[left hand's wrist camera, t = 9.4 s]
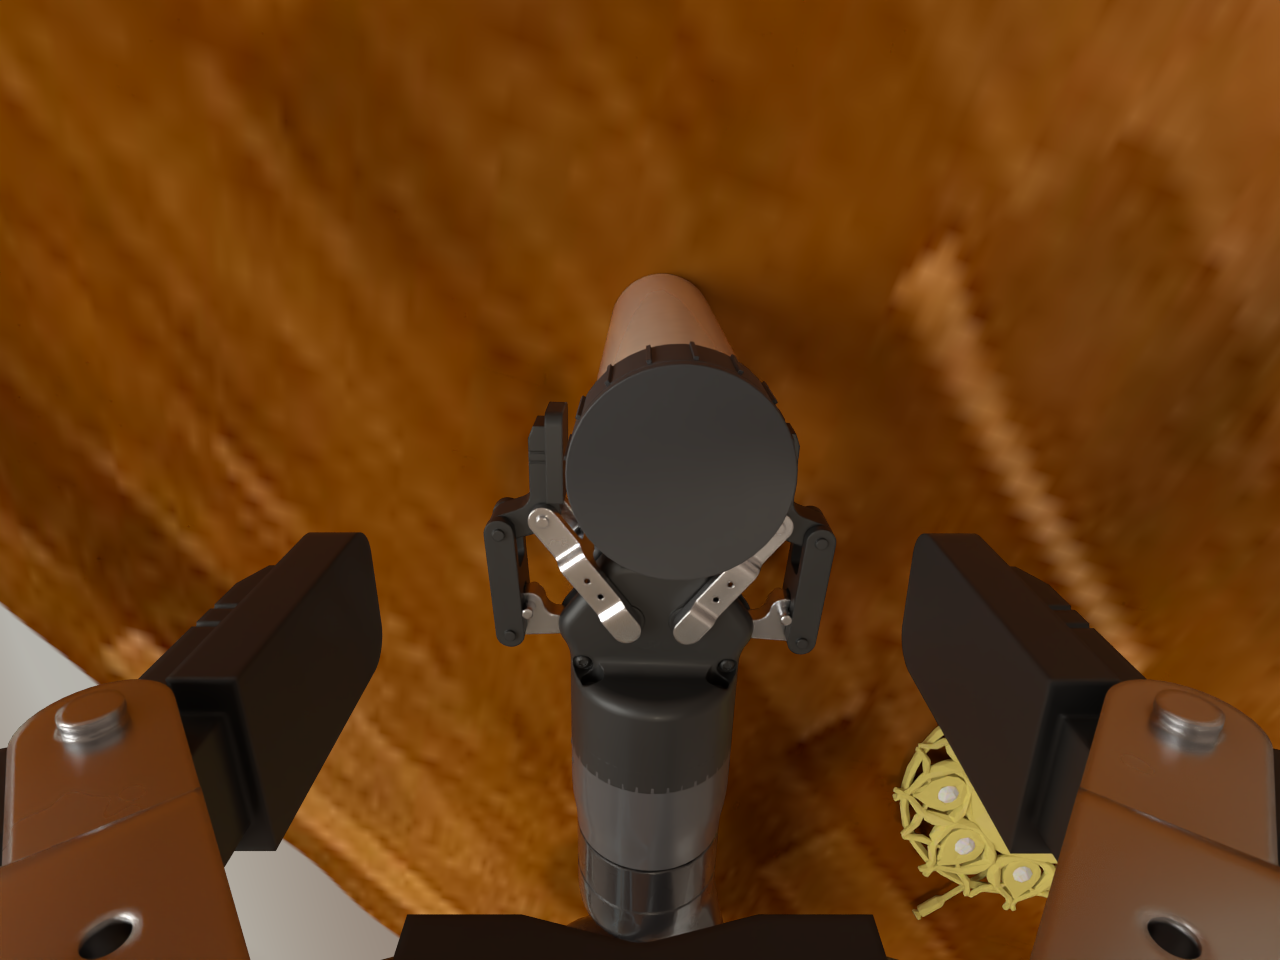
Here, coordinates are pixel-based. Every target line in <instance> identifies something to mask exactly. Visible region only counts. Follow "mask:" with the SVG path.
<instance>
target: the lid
mask: <svg viewBox="0 0 1280 960" xmlns="http://www.w3.org/2000/svg"><path fill="white" fill-rule="evenodd" d="M776 403H778V402H777V400H776V399H775V397H774V395H773V394H772V392H771V390H770V389H769V387H768V385H767V384H766V383H765V381H764V382H762V383H761V382H760V381H759V379H758V378H757V377H756V376H755V375H754V374H753V373H752V372H751V371H750V370H749V369H748V368H746V367H745V366H744V365H742V364H741V363H740V362H738V360H737V358H736V356H735V355H733V354H731V356H728V355H726V354H724V353H722V352H719V351H717V350H714V349H711V348H707V347H703V346H699V345H695V342H692V341H690V344H667V345H660V346H654V347H651V345H647V346H646V349H644V350H641V351H639V352H636V353H634V354H632V355H629V356H628V357H626V358H624V359H623V360H621V361H619V362H618V363H616V364H615V365H614V366H612V365H611V364H610V365H608V366H607V371H606V372H605V373H604V374H603V375H602V376H601V377H600V378H599V379H598V380H597V381H596V383H595V384H594V385H593V387H592V388H591V389H590V391H589V392H588V394H587V396H586V397H585V396H582V398H581V400H580V404H579V407H578V411H577V414H576V423H575V426H574V430H573V433H572V434H570V437H569V440H568V444H567V447H566V451H565V454H564V461H566V466H565V482H566V490H567V495H568V500H569V503H570V506H571V509H572V512H573V514H574V516H575V518H576V520H577V522H578V524H579V526H580V528H581V529H582V530H583V532H584V533H585V535H586V536H587V538H588V539H589V540H590V541H591V542H592V543H593V544H594V545H595V546H596V548H598V549H599V550H600V551H601V552H602V553H603V554H605V555H606V556H607V557H608V558H610V559H611V560H613V561H614V562H616V563H617V564H619V565H621V566H623V567H625V568H627V569H629V570H631V571H633V572H636V573H639V574H642V575H645V576H649V577H653V578H658V579H666V580H693V579H701V578H705V577H710V576H714V575H717V574H720V573H722V572H725V571H728V570H730V569H732V568H734V567H736V566H738V565H740V564H742V563H743V562H745V561H746V560H748V559H749V558H751V557H752V556H754V555H755V554H756V553H757V552H758V551H760V550H761V549H762V548H763V547H764V546H765V545H766V544H767V543H768V542H769V541H770V540H771V539H772V537H773V536H774V535H775V534H776V532H777V531H778V529H779V528H780V527H781V525H782V524H783V522H784V520H785V518H786V516H787V514H788V512H789V510H790V507H791V504H792V501H793V498H794V494H795V490H796V485H797V472H798V467H797V455H796V450H795V446H794V443H795V439H794V437H793V435H792V434H791V432H790V430H789V428H788V426H787V424H786V422H785V421H784V419H783V417H782V415H781V413H780V412H779V410H778V408H777V407H776V405H775V404H776Z"/></svg>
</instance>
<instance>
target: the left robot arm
mask: <svg viewBox="0 0 1280 960" xmlns="http://www.w3.org/2000/svg"><path fill="white" fill-rule="evenodd" d="M381 647H382V625H381V617H380V611H379V604H378V597H377V590H376V583H375V576H374V569H373V562H372V555H371V549H370V545H369V542H368V539H367V538H366V536H365V535H364V534H363V533H307V534H306V535H305V536H303V537H302V539H301V540H300V541H299V542H298V543H297V544H296V545H295V546H294V547H293V548H292V549H291V550H290V551H289V552H288V553H287V554H286V555H285V556H284V557H283V558H282V559H281V560H280V561H279V562H278V563H277V564H276V565H269V566H267V567H266V568H264V569H262V570H260V571H258V572H256V573H254V574H253V575H251V576H249V577H247V578H245V579H243V580H242V581H240V582H238V583H236V584H235V585H234V586H233V587H232V588H231V589H230V590H229V591H228V592H227V593H226V594H225V595H224V596H223V597H222V598H221V599H220V600H219V601H218V602H217V603H216V604H215V608H214V609H210V610H208V611H207V612H206V613H205V614H204V615H203V616H202V617H201V618H200V619H199V620H198V621H197V625H196V627H191V628H190V629H189V630H188V631H187V632H186V633H185V634H184V635H183V636H182V637H181V638H180V639H179V640H178V641H177V642H176V643H175V644H174V645H173V646H172V647H171V648H170V649H168V650H167V651H166V652H165V653H164V654H163V655H162V656H161V657H160V658H159V659H158V660H157V661H156V662H155V663H154V664H153V665H152V666H151V667H150V668H149V669H148V670H147V671H146V672H145V673H144V674H143V675H142V676H141V677H140V678H139V679H132V680H122V681H115V682H110V683H105V684H101V685H97V686H94V687H90V688H87V689H85V690H82V691H79V692H76V693H74V694H71V695H69V696H67V697H64V698H62V699H60V700H58V701H56V702H54V703H52V704H51V705H49V706H47V707H46V708H44V709H42V710H41V711H39V712H38V713H36V714H35V715H34V716H32V717H31V718H29V719H28V720H27V721H26V722H25V723H24V724H23V725H22V726H20V727H19V729H18V730H17V731H16V732H15V733H14V735H13V736H12V738H11V740H10V741H9V743H8V747H7V748H2V749H0V960H250V957H249V954H248V950H247V947H246V943H245V939H244V936H243V933H242V929H241V926H240V922H239V918H238V915H237V912H236V908H235V904H234V901H233V897H232V894H231V890H230V887H229V883H228V880H227V876H226V873H225V869H224V867H225V865H226V864H227V862H228V860H229V859H230V857H231V856H232V854H233V852H234V851H276V850H277V848H278V846H279V844H280V842H281V840H282V839H283V837H284V835H285V833H286V831H287V830H288V828H289V826H290V824H291V822H292V821H293V819H294V817H295V815H296V813H297V811H298V810H299V808H300V806H301V804H302V802H303V801H304V799H305V797H306V795H307V793H308V791H309V790H310V788H311V786H312V784H313V782H314V781H315V779H316V777H317V775H318V773H319V771H320V770H321V768H322V766H323V764H324V762H325V761H326V759H327V757H328V755H329V753H330V752H331V750H332V748H333V746H334V744H335V742H336V741H337V739H338V737H339V735H340V733H341V732H342V730H343V728H344V726H345V724H346V722H347V721H348V719H349V717H350V715H351V713H352V712H353V710H354V708H355V706H356V704H357V703H358V701H359V699H360V697H361V695H362V693H363V692H364V690H365V688H366V686H367V684H368V683H369V681H370V679H371V677H372V675H373V673H374V672H375V670H376V668H377V665H378V662H379V658H380V653H381ZM902 648H903V655H904V659H905V663H906V666H907V669H908V671H909V673H910V675H911V677H912V678H913V680H914V682H915V684H916V686H917V687H918V689H919V691H920V693H921V695H922V696H923V698H924V700H925V702H926V703H927V705H928V707H929V709H930V711H931V712H932V714H933V716H934V718H935V720H936V721H937V723H938V725H939V727H940V729H941V730H942V732H943V734H944V736H945V738H946V739H947V741H948V743H949V745H950V747H951V748H952V750H953V752H954V754H955V755H956V757H957V759H958V761H959V763H960V764H961V766H962V768H963V770H964V772H965V773H966V775H967V777H968V779H969V781H970V782H971V784H972V786H973V788H974V790H975V791H976V793H977V795H978V797H979V799H980V800H981V802H982V804H983V806H984V807H985V809H986V811H987V813H988V815H989V816H990V818H991V820H992V822H993V824H994V825H995V827H996V829H997V831H998V833H999V834H1000V836H1001V838H1002V840H1003V842H1004V843H1005V845H1006V847H1007V849H1008V851H1009V852H1010V854H1053V856H1054V858H1055V859H1056V861H1057V866H1056V869H1055V873H1054V876H1053V880H1052V883H1051V887H1050V890H1049V894H1048V897H1047V901H1046V904H1045V908H1044V911H1043V915H1042V918H1041V922H1040V925H1039V929H1038V932H1037V936H1036V939H1035V943H1034V946H1033V950H1032V954H1031V957H1030V960H1280V750H1277V749H1273V748H1272V743H1271V741H1270V740H1269V738H1268V736H1267V735H1266V733H1265V732H1264V731H1263V730H1262V729H1261V727H1260V726H1258V725H1257V724H1256V723H1255V722H1254V721H1253V720H1252V719H1251V718H1249V717H1248V716H1246V715H1245V714H1244V713H1242V712H1241V711H1239V710H1238V709H1236V708H1234V707H1233V706H1231V705H1230V704H1228V703H1226V702H1224V701H1222V700H1220V699H1218V698H1216V697H1213V696H1211V695H1209V694H1206V693H1204V692H1201V691H1198V690H1196V689H1193V688H1190V687H1186V686H1183V685H1179V684H1175V683H1170V682H1165V681H1158V680H1148V679H1146V678H1145V677H1144V676H1143V675H1142V674H1141V673H1140V672H1139V671H1138V670H1136V669H1135V668H1134V667H1133V666H1132V665H1131V664H1130V663H1129V662H1128V661H1127V660H1126V659H1125V658H1124V657H1123V656H1122V655H1121V654H1120V653H1119V652H1118V651H1117V650H1116V649H1115V648H1114V647H1113V646H1112V645H1111V644H1110V643H1109V642H1108V641H1106V640H1105V639H1104V638H1103V637H1102V636H1101V635H1100V634H1099V633H1098V632H1097V631H1096V630H1095V629H1094V628H1089V623H1088V622H1087V621H1086V620H1085V619H1084V618H1083V617H1082V616H1081V615H1080V614H1079V613H1078V612H1076V611H1075V610H1071V606H1070V605H1069V604H1068V603H1067V602H1066V601H1065V600H1064V599H1063V598H1062V597H1061V596H1060V595H1059V594H1058V593H1057V592H1056V591H1055V590H1054V589H1053V588H1052V587H1051V586H1050V585H1048V584H1046V583H1045V582H1043V581H1041V580H1039V579H1037V578H1035V577H1034V576H1032V575H1030V574H1028V573H1026V572H1024V571H1022V570H1021V569H1019V568H1017V567H1009V566H1008V564H1007V563H1006V562H1005V561H1004V560H1003V559H1002V558H1001V557H1000V556H999V555H998V554H997V553H996V552H995V551H994V550H993V549H992V548H991V547H990V546H989V545H988V544H987V543H986V542H985V541H984V540H983V539H982V538H981V537H980V536H979V535H977V534H921V535H920V536H919V537H918V539H917V541H916V543H915V547H914V551H913V558H912V564H911V571H910V578H909V585H908V591H907V598H906V605H905V612H904V619H903V625H902ZM383 960H897V959H894V958H890V957H886V954H885V951H884V948H883V945H882V942H881V939H880V936H879V933H878V929H877V926H876V923H875V920H874V917H873V915H754V916H751V917H747V918H743V919H739V920H735V921H731V922H727V923H723V924H719V925H715V926H711V927H707V928H703V929H699V930H695V931H691V932H687V933H683V934H679V935H675V936H671V937H667V938H663V939H659V940H655V941H651V942H645V943H635V942H629V941H625V940H621V939H617V938H613V937H609V936H605V935H601V934H597V933H593V932H589V931H585V930H581V929H577V928H573V927H569V926H565V925H561V924H557V923H553V922H549V921H545V920H541V919H537V918H533V917H529V916H526V915H407V917H406V920H405V923H404V926H403V929H402V933H401V936H400V939H399V942H398V945H397V948H396V951H395V955H394V957H391V958H386V959H383Z"/></svg>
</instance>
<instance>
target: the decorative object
mask: <svg viewBox="0 0 1280 960" xmlns="http://www.w3.org/2000/svg"><path fill="white" fill-rule="evenodd" d="M943 735H944V734H943V732H942V730H941V729H940V727H939V726H938V727H936V728H935V729H934V730H933V731H932V732H931V733H930V735H929V736H928V737H927V738H926V739H925V740H924V741H923V742H922V743H918V747H916V749H915V751H916V752H915V754H914V756H913V757H912V759H911V761H910V763H909V764H908V766H907V769H906V772H905V775H904V778H903V781H902V784H901V788H897V787H895V788H894V790H893V791H894V792H895V794H893V796H892V797H893V798H894V800H895V801H897V800H900V811H901V819H902V825H903V828H904V829H903V830H902V831H901V832H900V833H901V836H902V838H903V839H907V840H909V841H910V843H911V844H912V846H913V847H914V848H915V849H916V851H917V852H918V853H919V855H920V856H921V857H922V858H923V860H924V861H925V862H926V864H924V865H921V866H918V869H919V870H920V872H923V875H924V876H926V877H928V876H929V875H930V874H931V873H932V872H933V871H935V870H936V871H937V872H938V873H939V874H941V875H943V876H944V877H946V878H948V879H950V880H952V881H954V882H956V883H957V884H959V886H958V887H956V888H954V889H953V890H951V891H949V892H948V893H946V894H944V895H943V896H939V895H935V896H934V897H932V898H930V899H928V900H927V901H925V902H923V903H921V904H920V905H918V906H917V909H918V910H917V909H913V910H912V912H913V913H914V915H915V916H916V918H917V919H918V920H920V919H921V916H922V917H924V916H926V915H928V914H930V913H932V912H933V911H935V910H937V909H939V908H940V907H942V906H943V904H944V902H945V901H946V900H948V899H949V898H951V897H953V896H954V895H956V894H958V893H959V892H961V891H963V894H964V896H969V897H971V898H972V897H974V896H975V895H977V894H978V893H980V892H992V893H1000V894H1001V895H1002V896H1004V897H1005V898H1006V902H1005V903H1004V904H1003V906H1002V907H1003V909H1005V910H1008V909H1009V908H1010V909H1011V910H1012V911H1014V910H1016V907H1015V904H1016V903H1017V902H1018V901H1021V900H1024V899H1027V898H1030V897H1033V896H1036V895H1038V896H1043V897H1046V898H1047V897H1048V894H1049V892H1048V891H1049V890H1050V887H1051V883H1052V880H1053V876H1054V873H1055V869H1056V866H1057V865H1056V866H1054V865H1053V864H1051V863H1057V861H1056V859H1055V858H1054V856H1053V854H1010V852H1009V851H1008V849H1007V847H1006V845H1005V843H1004V842H1003V840H1002V838H1001V836H1000V834H999V833H998V831H997V829H996V827H995V825H994V824H993V822H992V820H991V818H990V816H989V815H988V813H987V811H986V809H985V807H984V806H983V804H982V802H981V800H980V799H979V797H978V795H977V793H976V791H975V790H974V788H973V786H972V784H971V782H970V781H969V779H968V777H967V775H966V773H965V772H964V770H963V768H962V766H961V764H960V763H959V761H958V759H957V757H956V755H955V754H954V752H953V750H952V748H951V747H950V745H949V743H948V741H947V739H946V738H942V739H940V738H941V737H942V736H943ZM939 739H940V740H939ZM943 746H945V747H946V751H947V754H948V755H949V756H950V757H951V758H952V759H948V760H943V761H941V762H938V763H936V764H934V765H931V766H930V764H931V760H930V759H929V757H928V756H927V755H926V754H927V752H928V751H929V750H930V749H939V748H941V747H943ZM921 762H922V767H923V773H922V774H920V775H919V777H918V778H917V779H916V780H915V781H914V782H913V779H914V776H915V773H916V770H917V769H918V767H919V765H920V764H921ZM912 782H913V783H912ZM914 797H915V798H917V799H919V800H920V801H921V802H923V803H924V804H923V806H921V805H920V804H919V802H918V801H917V800H916V799H915V798H914ZM909 802H910V804H911V805H912V807H913V808H914V810H915V811H916V812H917V813H916V814H915V815H914V817H913V819H912V821H911V823H910V814H909ZM927 807H930V808H933V809H936V810H930V809H927ZM937 810H940V811H937ZM943 811H946V812H943ZM964 816H965V817H966V818H965V817H964ZM923 818H924V820H925V821H927V822H929V823H931V824H933V825H935V826H934V827H933V829H932V831H931V833H930V834H929V836H930V838H931V839H930V838H928V837H926V836H924V835H923V834H915V832H914V829H915V828H917V827H918V826H919V825H920V823H921V821H922V819H923ZM920 842H921V843H924V844H927V845H928V852H927V850H926V849H925V848H924V846H923V845H922V844H921V843H920ZM937 848H938V852H937V854H936V850H937ZM983 849H984V851H983ZM995 850H997V851H998V852H1000V853H1002V854H1001V855H997V854H996V851H995ZM982 851H983V853H982ZM981 853H982V854H981ZM980 854H981V855H980ZM979 855H980V856H979ZM996 855H997V856H996ZM964 862H966V863H964ZM961 863H963V864H961ZM959 864H960V865H959ZM953 865H955V866H953ZM1039 865H1040V866H1041V867H1042V868H1043V870H1044V872H1043V874H1042V875H1041V869H1040V867H1039ZM982 871H983V872H982ZM980 872H981V873H980ZM978 873H979V874H978ZM966 874H978V875H976V876H974V877H973V878H971V879H970V878H968V876H967V875H966ZM986 876H987V879H988V882H982V881H979V880H981V879H983V878H984V877H986ZM1040 876H1041V877H1040ZM1000 879H1001V880H1002V882H1000ZM970 888H972V889H973V890H971V891H970ZM1010 894H1011V895H1010ZM1011 896H1012V897H1011Z"/></svg>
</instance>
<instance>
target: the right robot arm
mask: <svg viewBox="0 0 1280 960" xmlns="http://www.w3.org/2000/svg"><path fill="white" fill-rule="evenodd" d="M778 410H779V409H778ZM779 412H780V410H779ZM780 413H781V412H780ZM781 415H782V414H781ZM782 417H783V415H782ZM783 419H784V417H783ZM784 421H785V419H784ZM786 424H787V426H788V428H789V430H790V432H791V434H792V435H793V437H794V439H795V443H794V446H795V450H796V455H797V467H798V458H799V449H800V445H799V442H798V439H797V436H796V433H795V431H794V430H793V428H792V426H791V425H790V423H786ZM567 444H568V405H567V402H549V405H548V407H547V409H546V412H545V416H537V418H536V421H535V423H534V425H533V427H532V430H531V432H530V435H529V437H528V449H529V481H530V492H529V493H528V494H527V495H525V496H522V497H519V498H516V499H513V498H510V497H506V498H502V499H500V500H499V501H498V502H497V503H496V505H495V507H494V510H493V514H492V516H491V519H490V520H489V521H488V523H487V525H486V527H485V529H484V541H485V549H486V557H487V565H488V572H489V580H490V588H491V596H492V604H493V612H494V620H495V628H496V636H497V639H498V640H499V641H500V643H502V644H503V645H506V646H510V647H512V646H517V645H519V644H520V643H521V642H522V641H523V640H524V636H525V634H547V633H561V635H562V636H563V638H564V639H565V641H566V642H567V644H568V646H569V649H570V652H571V701H572V740H571V742H572V776H573V789H574V795H575V800H576V805H577V811H578V876H579V886H580V892H581V896H582V900H583V902H584V905H585V907H586V909H587V911H588V913H589V914H590V915H589V916H586V917H583V918H580V919H578V920H575V921H573V922H571V923H569V924H568V925H567V926H569V927H573V928H577V929H581V930H585V931H589V932H593V933H597V934H601V935H605V936H609V937H613V938H617V939H621V940H625V941H629V942H635V943H645V942H651V941H655V940H659V939H663V938H667V937H671V936H675V935H679V934H683V933H687V932H691V931H695V930H699V929H703V928H707V927H711V926H715V925H719V924H723V919H722V916H721V912H720V907H719V902H718V896H717V889H716V882H715V861H716V850H717V838H718V827H719V819H720V814H721V811H722V807H723V803H724V799H725V795H726V790H727V783H728V772H729V762H730V751H731V739H732V728H733V716H734V705H735V694H736V683H737V672H738V662H739V657H740V654H741V652H742V650H743V648H744V647H745V645H746V644H747V643H748V642H749V640H750V639H751V638H760V639H773V640H785V641H787V644H788V647H789V649H790V650H791V651H792V652H793V653H796V654H806V653H808V652H810V651H811V650H812V649H813V648H814V646H815V644H816V639H817V634H818V629H819V624H820V620H821V615H822V610H823V605H824V600H825V595H826V590H827V586H828V581H829V576H830V571H831V566H832V561H833V556H834V552H835V547H836V538H835V536H834V534H833V532H832V530H831V529H830V527H829V525H828V523H827V521H826V519H825V517H824V516H823V514H822V512H821V510H820V509H819V508H817V507H815V506H806V507H805V506H802V505H799V504H797V503H795V502H794V498H793V501H792V504H791V507H790V510H789V512H788V514H787V516H786V518H785V520H784V522H783V524H782V525H781V527H780V528H779V529H778V531H777V532H776V534H775V535H774V536H773V537H772V539H771V540H770V541H769V542H768V543H767V544H766V545H765V546H764V547H763V548H762V549H761V550H760V551H758V552H757V553H756V554H755V555H754V556H752V557H751V558H749V559H748V560H746V561H745V562H743V563H742V564H740V565H738V566H736V567H734V568H732V569H730V570H728V571H725V572H722V573H720V574H717V575H714V576H710V577H705V578H701V579H693V580H666V579H658V578H653V577H649V576H645V575H642V574H639V573H636V572H633V571H631V570H629V569H627V568H625V567H623V566H621V565H619V564H617V563H616V562H614V561H613V560H611V559H610V558H608V557H607V556H606V555H605V554H603V553H602V552H601V551H600V550H599V549H598V548H596V546H595V545H594V544H593V543H592V542H591V541H590V540H589V539H588V538H587V536H586V535H585V533H584V532H583V530H582V529H581V528H580V526H579V524H578V522H577V520H576V518H575V516H574V514H573V512H572V509H571V506H570V503H569V500H568V499H567V498H566V492H567V490H566V482H565V466H566V461H564V454H565V451H566V447H567ZM531 534H535V535H536V536H537V537H538V538H539V540H540V541H541V542H542V543H543V544H544V545H545V547H546V548H547V549H548V550H549V551H550V552H551V554H552V555H553V556H554V557H555V559H556V560H557V563H558V566H559V569H560V571H561V572H562V574H563V575H564V576H565V577H566V578H567V580H568V581H569V582H570V583H571V584H572V585H573V587H574V588H573V589H572V590H571V591H570V593H569V594H568V595H567V596H566V597H565V599H564V601H563V603H562V605H560V604H555V603H553V602H551V601H550V600H549V599H548V598H547V596H546V592H545V590H544V588H543V587H542V586H541V585H539V583H537V582H531V583H530V579H529V569H528V559H527V549H526V540H525V536H527V535H531ZM785 540H786V541H789V542H791V545H790V550H789V556H788V561H787V567H786V572H785V578H784V583H783V589H781V588H775V589H774V590H773V591H772V592H771V593H770V594H769V596H768V598H767V600H766V602H765V604H764V605H763V606H761V607H760V608H757V609H750V607H749V605H748V603H747V601H746V600H745V599H744V597H743V596H742V595H741V593H742V592H743V591H744V590H745V589H746V588H747V587H748V586H749V585H750V584H751V583H752V582H753V581H754V580H755V579H756V577H757V576H758V574H759V572H760V569H761V566H762V564H763V563H764V562H765V561H766V560H767V559H768V558H769V557H770V556H771V555H772V554H773V553H774V552H775V551H776V550H777V549H778V547H779V546H780V545H781V544H782V543H783V542H784V541H785Z"/></svg>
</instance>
